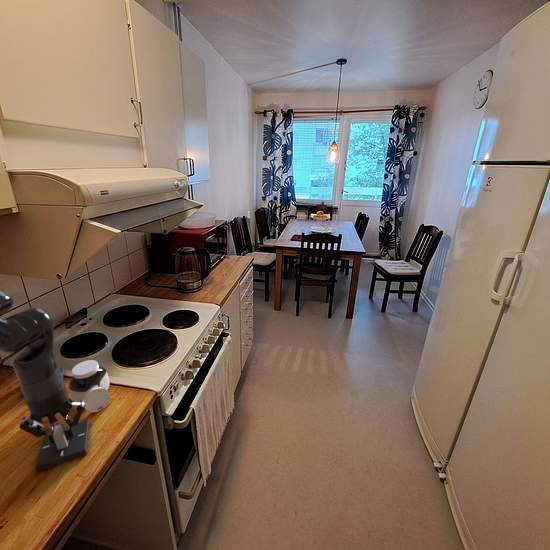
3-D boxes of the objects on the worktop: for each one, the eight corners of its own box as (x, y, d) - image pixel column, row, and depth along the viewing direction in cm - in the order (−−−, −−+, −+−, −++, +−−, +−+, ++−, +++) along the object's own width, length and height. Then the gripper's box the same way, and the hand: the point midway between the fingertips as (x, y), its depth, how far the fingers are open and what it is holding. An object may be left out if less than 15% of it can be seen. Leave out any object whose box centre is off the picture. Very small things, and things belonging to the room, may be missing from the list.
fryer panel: (39, 473, 69) (35, 466, 68) (47, 439, 77) (44, 432, 76) (87, 455, 73) (85, 448, 72) (90, 425, 81) (88, 418, 80)
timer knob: (67, 447, 73) (62, 432, 71) (58, 450, 72) (52, 435, 70) (70, 432, 76) (64, 417, 74) (60, 435, 76) (55, 420, 74)
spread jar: (94, 383, 96) (87, 355, 92) (124, 388, 94) (118, 360, 90) (64, 412, 85) (53, 381, 81) (97, 418, 84) (88, 387, 79)
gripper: (80, 369, 73) (95, 418, 80) (11, 387, 67) (33, 438, 74) (77, 389, 67) (93, 440, 74) (1, 410, 61) (26, 464, 68)
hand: (63, 439), depth 74 cm, fingers closed on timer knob, 2 cm apart
